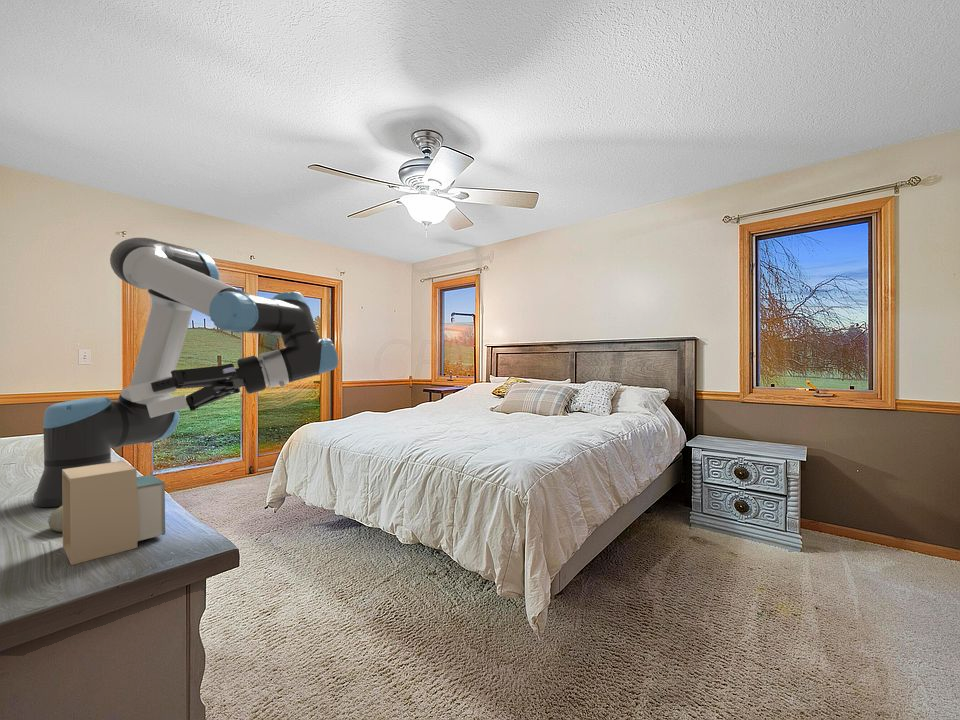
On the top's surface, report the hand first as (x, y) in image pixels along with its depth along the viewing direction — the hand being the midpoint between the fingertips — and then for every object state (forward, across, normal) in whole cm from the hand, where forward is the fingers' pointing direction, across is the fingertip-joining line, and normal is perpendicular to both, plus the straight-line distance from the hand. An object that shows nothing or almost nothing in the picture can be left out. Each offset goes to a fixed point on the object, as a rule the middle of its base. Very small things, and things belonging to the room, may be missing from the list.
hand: (139, 403), depth 81 cm
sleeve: (+10, 0, -22) cm, 25 cm away
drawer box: (+7, +1, -22) cm, 23 cm away
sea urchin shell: (+16, +15, -16) cm, 27 cm away
